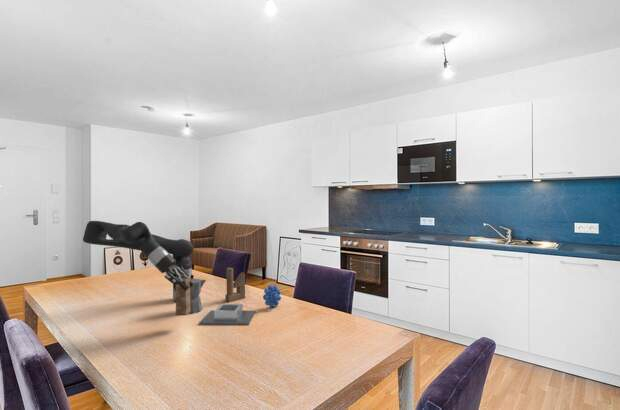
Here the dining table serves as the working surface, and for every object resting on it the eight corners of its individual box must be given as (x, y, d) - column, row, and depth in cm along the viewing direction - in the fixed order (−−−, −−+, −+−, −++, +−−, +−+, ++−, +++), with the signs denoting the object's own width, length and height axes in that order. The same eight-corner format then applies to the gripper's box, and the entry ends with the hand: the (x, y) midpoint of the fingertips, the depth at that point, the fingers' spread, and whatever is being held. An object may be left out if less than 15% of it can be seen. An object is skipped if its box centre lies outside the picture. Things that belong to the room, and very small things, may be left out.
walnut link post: (175, 315, 145) (175, 280, 145) (180, 311, 150) (180, 277, 149) (186, 315, 145) (185, 280, 144) (190, 311, 149) (190, 277, 149)
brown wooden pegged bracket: (245, 298, 191) (245, 266, 190) (229, 302, 183) (228, 269, 183) (241, 296, 193) (241, 265, 193) (225, 301, 185) (224, 268, 185)
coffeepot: (205, 306, 177) (205, 271, 176) (206, 312, 168) (206, 275, 167) (173, 309, 171) (173, 274, 171) (173, 316, 163) (172, 278, 162)
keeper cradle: (199, 324, 151) (199, 313, 151) (210, 312, 167) (210, 302, 167) (248, 324, 151) (248, 313, 151) (255, 312, 167) (255, 302, 167)
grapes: (269, 312, 167) (269, 288, 167) (260, 309, 172) (260, 285, 171) (286, 306, 176) (286, 283, 175) (277, 303, 180) (277, 281, 180)
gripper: (163, 262, 154) (190, 289, 154) (147, 269, 140) (176, 298, 140) (175, 250, 154) (201, 277, 154) (159, 256, 140) (189, 286, 139)
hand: (189, 287), depth 147 cm, fingers closed on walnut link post, 4 cm apart
